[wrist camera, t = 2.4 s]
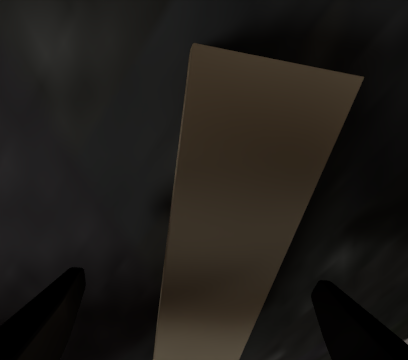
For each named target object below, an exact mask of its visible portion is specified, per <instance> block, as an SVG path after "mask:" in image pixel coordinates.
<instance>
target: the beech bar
mask: <svg viewBox="0 0 408 360" xmlns="http://www.w3.org/2000/svg"><path fill="white" fill-rule="evenodd" d="M363 79H364V77H361V76H356V75H351V74H346V73H341V72H336V71H331V70H326V69H321V68H316V67H311V66H306V65H301V64H296V63H291V62H286V61H281V60H276V59H271V58H266V57H261V56H256V55H251V54H246V53H241V52H236V51H231V50H226V49H221V48H216V47H211V46H206V45H201V44H196V43H193V45H192V47H191V50H190V56H189V64H188V72H187V80H186V89H185V97H184V105H183V113H182V121H181V130H180V138H179V146H178V154H177V162H176V170H175V179H174V187H173V195H172V203H171V211H170V220H169V228H168V236H167V244H166V252H165V261H164V269H163V277H162V285H161V293H160V301H159V310H158V318H157V326H156V335H155V344H154V353H153V360H239V358H240V356H241V354H242V352H243V349H244V347H245V345H246V343H247V340H248V338H249V336H250V334H251V331H252V329H253V327H254V325H255V322H256V320H257V318H258V316H259V313H260V311H261V309H262V307H263V304H264V302H265V300H266V298H267V295H268V293H269V291H270V289H271V286H272V284H273V282H274V280H275V277H276V275H277V273H278V271H279V268H280V266H281V264H282V261H283V259H284V257H285V255H286V252H287V250H288V248H289V246H290V243H291V241H292V239H293V237H294V234H295V232H296V230H297V228H298V225H299V223H300V221H301V219H302V216H303V214H304V212H305V210H306V207H307V205H308V203H309V201H310V198H311V196H312V194H313V192H314V189H315V187H316V185H317V183H318V180H319V178H320V176H321V174H322V171H323V169H324V167H325V165H326V162H327V160H328V158H329V156H330V153H331V151H332V149H333V147H334V144H335V142H336V140H337V138H338V135H339V133H340V131H341V129H342V126H343V124H344V122H345V119H346V117H347V115H348V113H349V110H350V108H351V106H352V104H353V101H354V99H355V97H356V95H357V92H358V90H359V88H360V86H361V83H362V81H363Z"/></svg>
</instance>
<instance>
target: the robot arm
mask: <svg viewBox="0 0 408 360" xmlns="http://www.w3.org/2000/svg"><path fill="white" fill-rule="evenodd" d="M85 285H86V283H85V273H84V269H83V268H77V267H72V268H69V269H68V270H67V271H66V272H64V273H63V274H62V275H61V276H60V277H59V278H57V279H56V280H55V281H54V282H53V283H51V284H50V285H49V286H48V287H47V288H45V289H44V290H43V291H42V292H41V293H39V294H38V295H37V296H36V297H35V298H34V299H32V300H31V301H30V302H29V303H28V304H26V305H25V306H24V307H23V308H22V309H20V310H19V311H18V312H17V313H16V314H14V315H13V316H12V317H11V318H10V319H9V320H7V321H6V322H5V323H4V324H3V325H1V326H0V360H60V358H61V356H62V353H63V351H64V349H65V346H66V344H67V342H68V339H69V337H70V334H71V331H72V328H73V325H74V321H75V318H76V315H77V312H78V309H79V306H80V303H81V300H82V297H83V294H84V290H85ZM311 298H312V302H313V306H314V309H315V312H316V315H317V319H318V322H319V325H320V328H321V332H322V335H323V338H324V341H325V343H326V346H327V349H328V351H329V354H330V356H331V359H332V360H408V345H407V344H406V343H405V342H404V341H403V340H402V339H400V338H399V337H398V336H397V335H395V334H394V333H393V332H392V331H391V330H389V329H388V328H387V327H386V326H384V325H383V324H382V323H381V322H380V321H378V320H377V319H376V318H375V317H373V316H372V315H371V314H370V313H369V312H367V311H366V310H365V309H364V308H362V307H361V306H360V305H359V304H358V303H356V302H355V301H354V300H353V299H352V298H350V297H349V296H348V295H347V294H345V293H344V292H343V291H342V290H341V289H339V288H338V287H337V286H336V285H334V284H333V283H332V282H330V281H325V280H320V281H318V283H317V285H316V286H315V288H314V290H313V292H312V294H311Z"/></svg>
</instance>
